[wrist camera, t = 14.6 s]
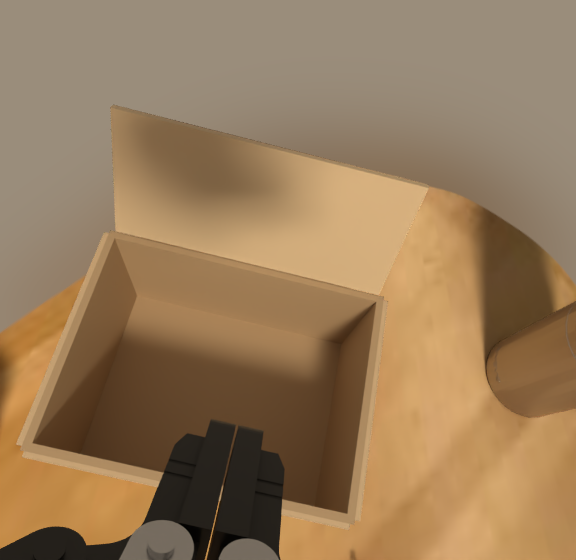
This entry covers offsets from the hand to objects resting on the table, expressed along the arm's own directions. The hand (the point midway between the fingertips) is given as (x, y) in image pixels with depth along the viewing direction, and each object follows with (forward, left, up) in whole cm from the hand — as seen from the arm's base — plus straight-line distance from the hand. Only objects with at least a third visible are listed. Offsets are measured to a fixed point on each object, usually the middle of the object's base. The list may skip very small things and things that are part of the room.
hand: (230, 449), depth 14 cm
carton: (+2, -8, -38) cm, 39 cm away
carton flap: (+2, -19, -19) cm, 27 cm away
